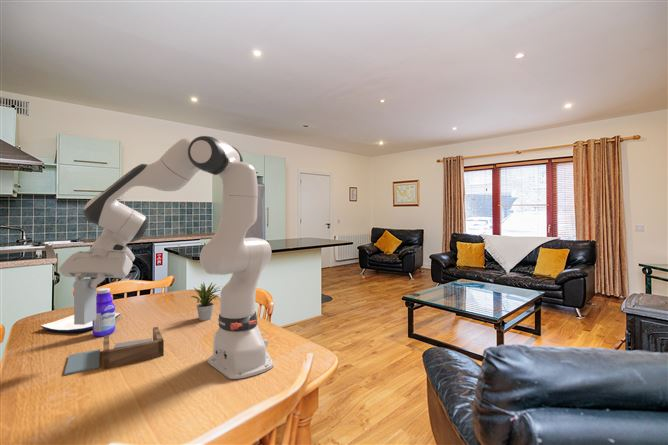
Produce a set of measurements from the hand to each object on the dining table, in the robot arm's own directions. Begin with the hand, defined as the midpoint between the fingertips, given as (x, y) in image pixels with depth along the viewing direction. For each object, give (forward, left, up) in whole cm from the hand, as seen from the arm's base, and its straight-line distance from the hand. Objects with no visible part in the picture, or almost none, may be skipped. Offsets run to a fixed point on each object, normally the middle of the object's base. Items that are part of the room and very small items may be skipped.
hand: (83, 287), depth 97 cm
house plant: (+20, -41, -24) cm, 51 cm away
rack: (0, -13, -23) cm, 27 cm away
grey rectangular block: (+1, 0, -11) cm, 11 cm away
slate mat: (0, 0, -24) cm, 23 cm away
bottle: (+24, -5, -24) cm, 34 cm away
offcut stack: (-4, -13, -24) cm, 27 cm away
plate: (+41, +2, -24) cm, 48 cm away
